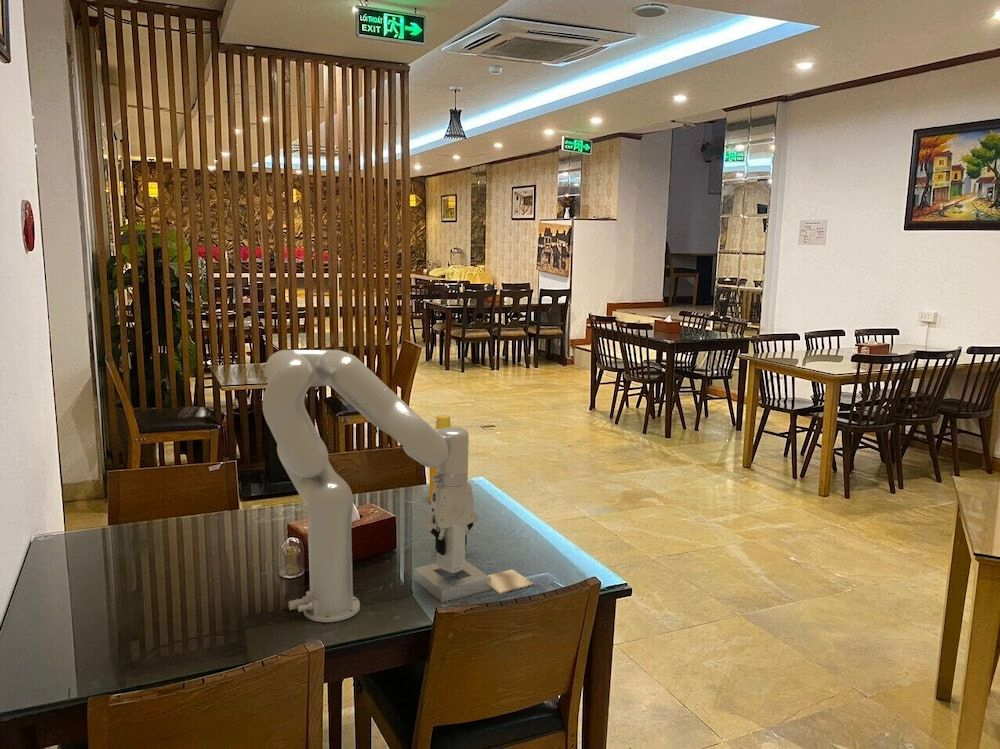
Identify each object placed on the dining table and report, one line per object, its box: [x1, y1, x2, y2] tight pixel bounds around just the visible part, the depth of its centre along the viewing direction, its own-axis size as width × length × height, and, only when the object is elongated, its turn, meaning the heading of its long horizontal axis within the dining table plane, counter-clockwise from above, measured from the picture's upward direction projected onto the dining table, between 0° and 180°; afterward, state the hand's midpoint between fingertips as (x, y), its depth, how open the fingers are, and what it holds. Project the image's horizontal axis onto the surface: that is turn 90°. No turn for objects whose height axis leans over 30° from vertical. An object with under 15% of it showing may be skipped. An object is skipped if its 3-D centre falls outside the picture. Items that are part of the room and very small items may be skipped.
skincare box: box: [436, 525, 466, 573], centre depth 185 cm, size 6×4×12 cm
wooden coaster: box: [488, 569, 535, 595], centre depth 189 cm, size 10×10×1 cm
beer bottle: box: [429, 414, 452, 503], centre depth 248 cm, size 9×9×29 cm
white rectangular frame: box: [413, 559, 492, 603], centre depth 188 cm, size 14×15×3 cm
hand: (451, 550), depth 186 cm, fingers closed on skincare box, 5 cm apart
